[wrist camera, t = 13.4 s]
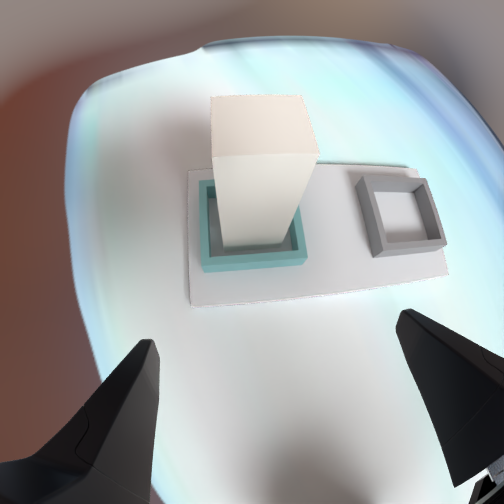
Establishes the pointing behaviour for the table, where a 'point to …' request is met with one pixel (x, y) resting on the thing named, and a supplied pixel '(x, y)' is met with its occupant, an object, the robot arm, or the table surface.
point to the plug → (260, 166)
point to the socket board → (321, 239)
